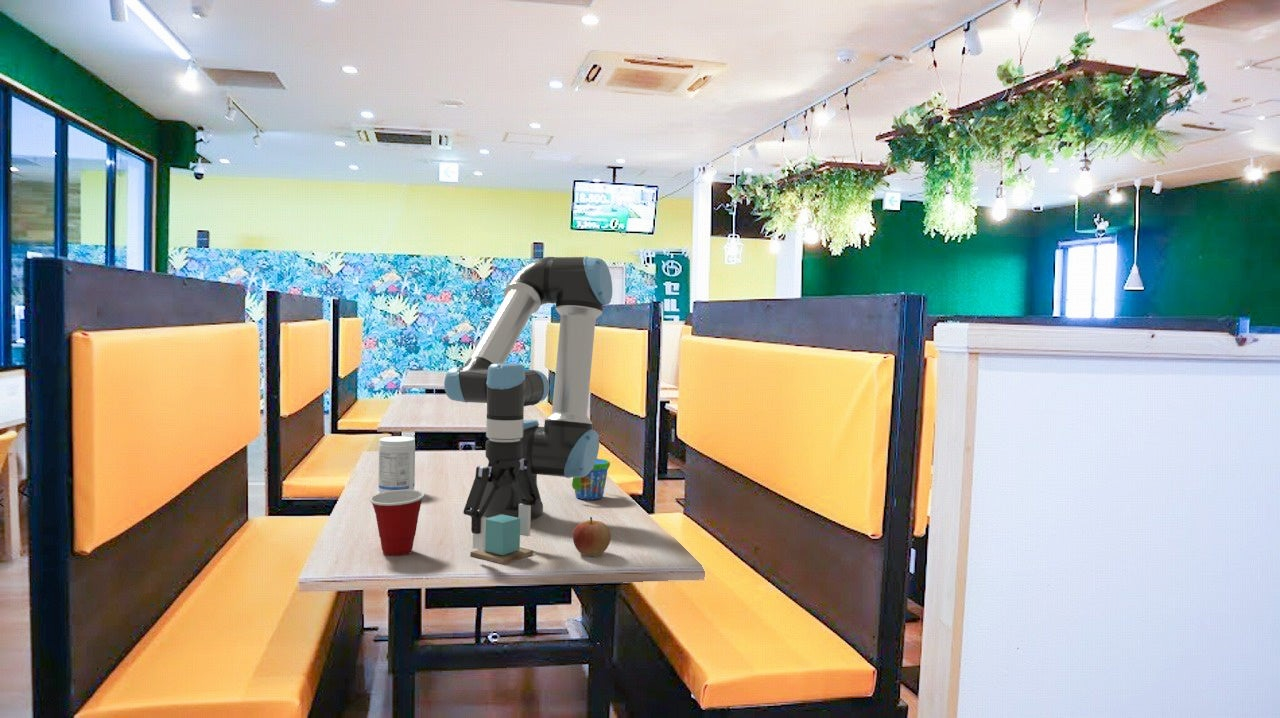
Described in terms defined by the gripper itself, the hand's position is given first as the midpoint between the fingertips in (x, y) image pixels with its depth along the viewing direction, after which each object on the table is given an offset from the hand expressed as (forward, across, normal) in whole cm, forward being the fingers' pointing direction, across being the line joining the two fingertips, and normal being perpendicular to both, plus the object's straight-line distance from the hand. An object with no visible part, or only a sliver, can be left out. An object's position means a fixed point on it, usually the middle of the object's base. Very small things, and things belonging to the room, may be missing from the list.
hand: (502, 542), depth 172 cm
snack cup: (+3, -56, -19) cm, 59 cm away
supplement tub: (+3, -27, -63) cm, 69 cm away
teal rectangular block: (+2, 0, 0) cm, 2 cm away
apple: (+3, -12, +14) cm, 19 cm away
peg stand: (+3, 0, 0) cm, 3 cm away
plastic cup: (+3, +12, -18) cm, 22 cm away
